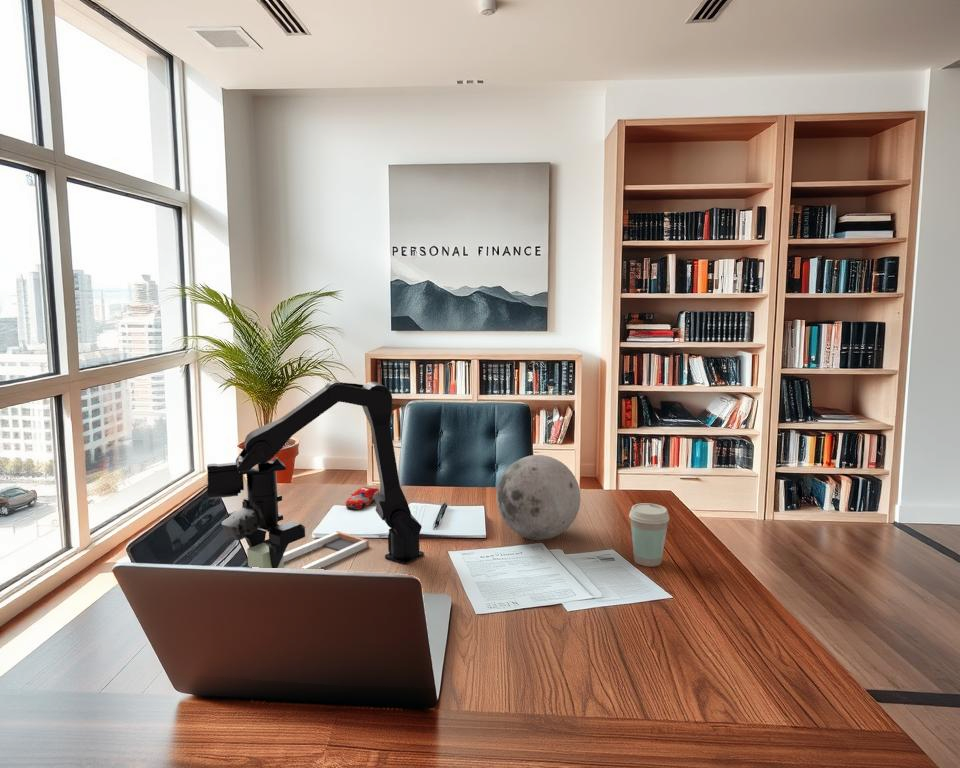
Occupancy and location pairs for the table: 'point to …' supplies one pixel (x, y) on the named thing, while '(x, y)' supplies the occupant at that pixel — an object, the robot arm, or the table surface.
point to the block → (261, 557)
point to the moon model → (538, 497)
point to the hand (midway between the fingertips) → (266, 565)
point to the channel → (327, 559)
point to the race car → (362, 498)
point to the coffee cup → (648, 533)
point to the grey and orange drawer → (344, 541)
